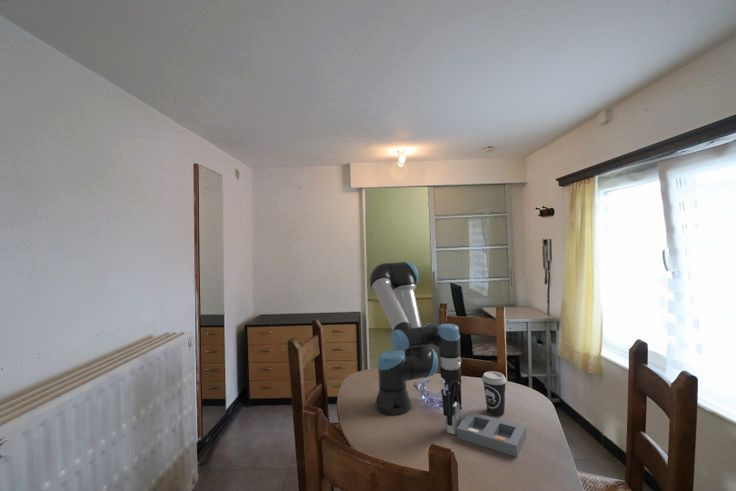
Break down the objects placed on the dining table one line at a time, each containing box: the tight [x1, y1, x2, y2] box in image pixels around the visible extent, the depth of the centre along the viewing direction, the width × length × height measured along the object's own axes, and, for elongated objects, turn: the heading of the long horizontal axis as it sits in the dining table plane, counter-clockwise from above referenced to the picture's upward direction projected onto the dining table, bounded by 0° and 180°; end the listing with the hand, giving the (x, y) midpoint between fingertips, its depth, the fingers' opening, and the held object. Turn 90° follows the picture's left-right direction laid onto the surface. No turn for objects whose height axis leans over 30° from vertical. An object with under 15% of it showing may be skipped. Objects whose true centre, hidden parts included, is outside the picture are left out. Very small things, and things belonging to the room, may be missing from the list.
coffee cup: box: [481, 370, 507, 417], centre depth 135 cm, size 10×10×15 cm
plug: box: [445, 400, 462, 436], centre depth 123 cm, size 4×4×11 cm
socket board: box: [456, 411, 528, 458], centre depth 118 cm, size 20×14×4 cm
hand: (453, 429), depth 123 cm, fingers closed on plug, 4 cm apart
